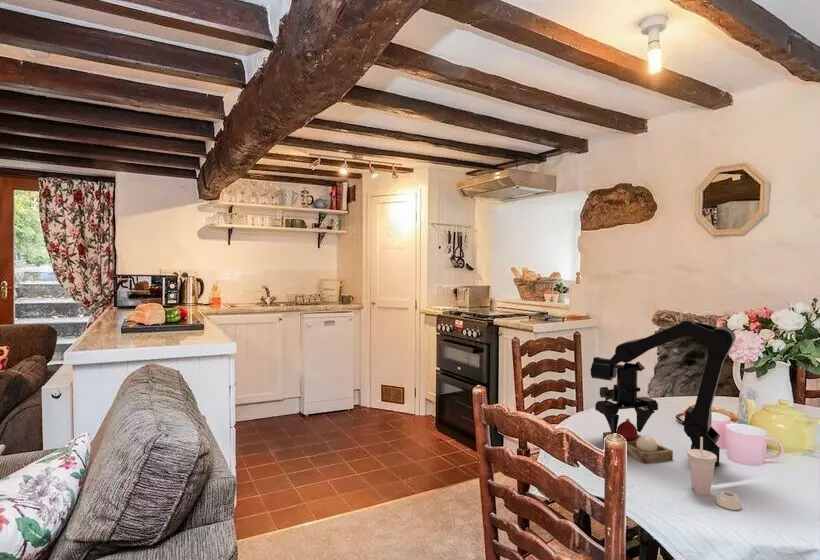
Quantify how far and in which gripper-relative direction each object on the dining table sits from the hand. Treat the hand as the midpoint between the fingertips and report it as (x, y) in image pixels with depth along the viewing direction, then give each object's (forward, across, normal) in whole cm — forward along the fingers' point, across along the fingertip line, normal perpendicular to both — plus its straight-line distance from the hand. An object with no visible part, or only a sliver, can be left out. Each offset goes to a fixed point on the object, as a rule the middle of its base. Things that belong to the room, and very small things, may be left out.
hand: (626, 433), depth 149 cm
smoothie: (+5, +2, +29) cm, 30 cm away
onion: (+4, 0, 0) cm, 4 cm away
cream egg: (+4, 0, +8) cm, 9 cm away
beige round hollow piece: (+5, +1, +36) cm, 37 cm away
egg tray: (+4, 0, +4) cm, 6 cm away
